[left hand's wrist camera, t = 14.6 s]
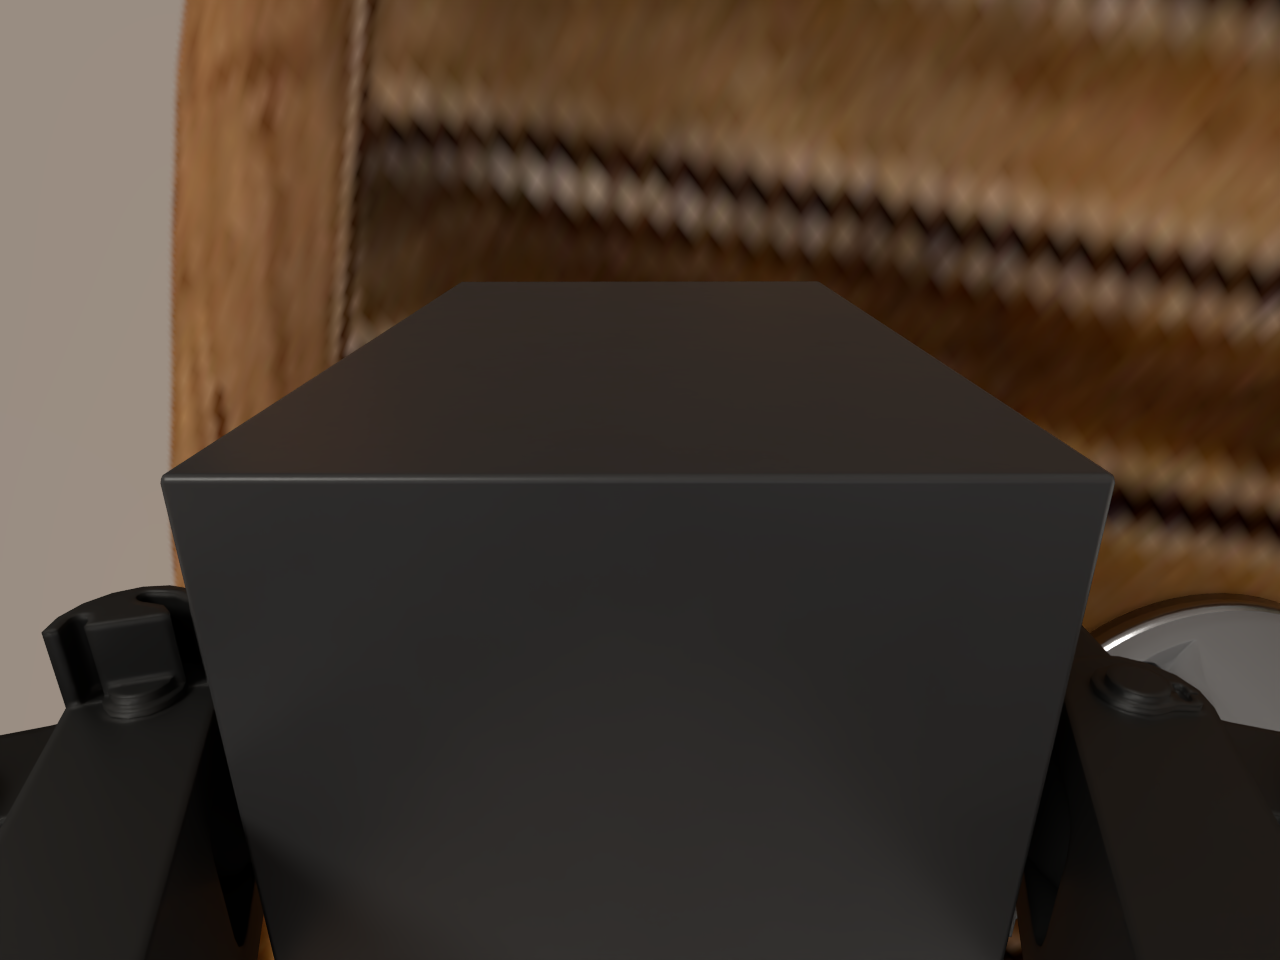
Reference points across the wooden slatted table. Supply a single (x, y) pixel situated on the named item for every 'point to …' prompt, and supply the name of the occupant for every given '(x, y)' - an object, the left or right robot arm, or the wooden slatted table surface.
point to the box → (638, 632)
